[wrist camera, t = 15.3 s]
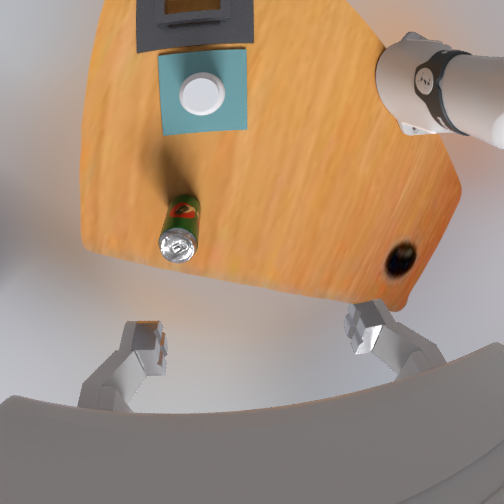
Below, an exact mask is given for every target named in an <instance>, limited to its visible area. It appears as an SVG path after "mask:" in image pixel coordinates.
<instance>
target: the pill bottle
mask: <svg viewBox="0 0 504 504" xmlns="http://www.w3.org/2000/svg"><path fill="white" fill-rule="evenodd" d="M224 98H225V87H224V85H223V83H222V81H221V80H220V79H219V78H218V77H216V76H215V75H213V74H211V73H207V72H199V73H196V74H193V75H191V76H189V77H188V78H187V79H186V80H185V81H184V82H183V83H182V85H181V87H180V91H179V100H180V103H181V105H182V106H183V108H184V109H185V110H187V111H188V112H190V113H192V114H194V115H208V114H211V113H213V112H214V111H216V110H217V109H218V108H219V107H220V106H221V105H222V103H223V101H224Z"/></svg>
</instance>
